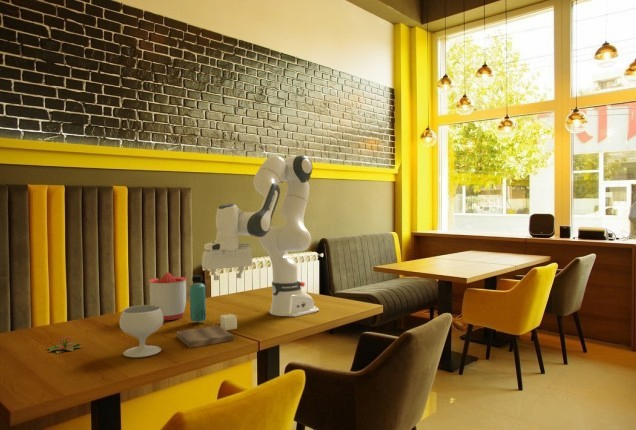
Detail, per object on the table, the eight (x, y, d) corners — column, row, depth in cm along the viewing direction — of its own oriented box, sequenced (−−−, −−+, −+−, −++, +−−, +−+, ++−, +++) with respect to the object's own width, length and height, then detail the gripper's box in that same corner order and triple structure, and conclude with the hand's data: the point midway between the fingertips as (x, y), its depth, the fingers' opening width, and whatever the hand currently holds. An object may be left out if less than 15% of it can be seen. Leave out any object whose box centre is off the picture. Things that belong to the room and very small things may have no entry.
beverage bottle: (202, 325, 197) (201, 277, 197) (187, 324, 199) (186, 276, 198) (209, 321, 204) (208, 274, 203) (194, 320, 205) (193, 274, 204)
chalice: (158, 343, 173) (157, 302, 173) (169, 354, 161) (168, 310, 161) (116, 350, 166) (115, 307, 165) (124, 362, 154) (123, 315, 153)
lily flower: (74, 342, 177) (73, 330, 177) (90, 348, 170) (89, 335, 170) (39, 350, 168) (38, 338, 168) (54, 357, 161) (53, 344, 160)
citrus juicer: (179, 311, 223) (178, 268, 222) (192, 319, 209) (191, 272, 208) (144, 316, 214) (143, 271, 214) (155, 324, 200) (154, 276, 199)
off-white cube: (232, 325, 197) (232, 313, 197) (237, 328, 193) (236, 316, 193) (220, 327, 194) (220, 315, 194) (225, 330, 190) (224, 318, 190)
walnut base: (217, 330, 190) (217, 325, 190) (233, 340, 177) (232, 335, 176) (177, 336, 182) (176, 331, 182) (189, 348, 168) (189, 342, 168)
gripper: (248, 242, 200) (248, 275, 201) (200, 245, 190) (200, 280, 190) (254, 243, 195) (254, 277, 195) (205, 246, 184) (205, 282, 185)
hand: (227, 279), depth 193 cm, fingers open, 8 cm apart
